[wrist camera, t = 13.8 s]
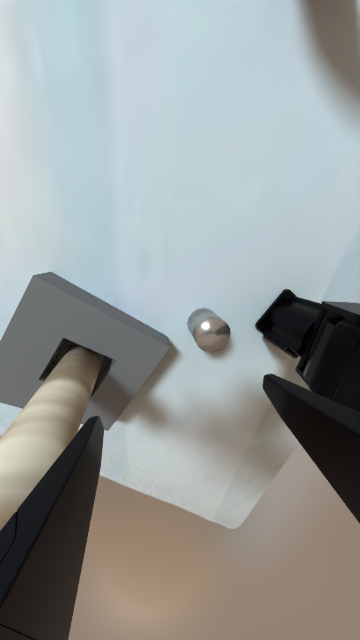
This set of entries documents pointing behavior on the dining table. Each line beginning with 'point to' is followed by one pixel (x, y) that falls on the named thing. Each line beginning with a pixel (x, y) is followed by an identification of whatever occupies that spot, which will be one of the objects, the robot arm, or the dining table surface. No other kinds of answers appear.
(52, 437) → the birch pin
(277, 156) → the dining table surface
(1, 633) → the robot arm
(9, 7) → the dining table surface
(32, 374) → the plate
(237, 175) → the dining table surface
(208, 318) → the steel stub
